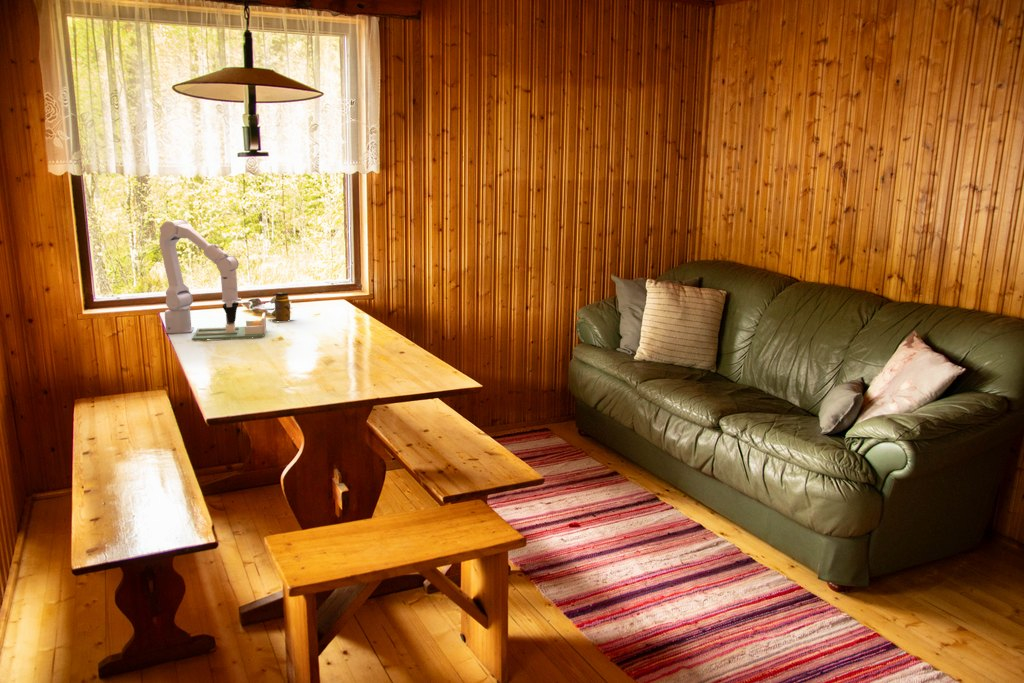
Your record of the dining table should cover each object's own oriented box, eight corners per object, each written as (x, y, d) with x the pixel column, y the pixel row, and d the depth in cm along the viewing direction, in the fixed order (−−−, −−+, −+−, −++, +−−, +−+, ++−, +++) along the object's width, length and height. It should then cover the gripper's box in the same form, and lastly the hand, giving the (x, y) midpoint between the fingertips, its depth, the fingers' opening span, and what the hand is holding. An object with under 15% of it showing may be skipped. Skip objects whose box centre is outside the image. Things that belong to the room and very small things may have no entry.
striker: (226, 333, 318) (224, 315, 317) (227, 329, 324) (226, 312, 322) (234, 332, 319) (232, 315, 317) (235, 329, 325) (234, 312, 323)
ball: (258, 333, 322) (249, 328, 321) (259, 331, 326) (249, 326, 325) (263, 324, 322) (254, 320, 321) (264, 322, 326) (254, 318, 325)
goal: (245, 334, 317) (244, 319, 316) (246, 328, 329) (245, 313, 327) (265, 333, 319) (264, 318, 318) (266, 327, 330) (265, 312, 329)
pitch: (192, 340, 310) (191, 336, 310) (197, 330, 327) (197, 326, 327) (263, 337, 316) (263, 333, 316) (265, 328, 333) (264, 323, 333)
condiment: (294, 320, 349) (292, 292, 347) (276, 323, 344) (274, 295, 341) (285, 317, 354) (284, 290, 352) (267, 320, 349) (266, 292, 346)
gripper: (239, 290, 312) (241, 325, 315) (241, 284, 326) (243, 317, 329) (219, 291, 310) (222, 326, 313) (222, 285, 324) (225, 318, 327)
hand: (231, 321), depth 321 cm, fingers closed on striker, 3 cm apart
